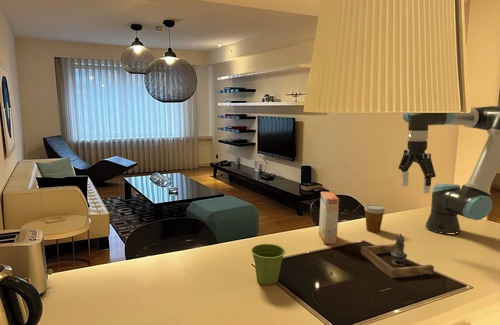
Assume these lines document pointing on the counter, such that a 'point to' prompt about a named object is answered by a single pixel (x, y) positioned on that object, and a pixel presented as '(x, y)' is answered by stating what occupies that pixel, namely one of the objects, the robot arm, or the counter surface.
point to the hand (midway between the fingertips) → (415, 189)
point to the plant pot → (267, 262)
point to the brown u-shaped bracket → (386, 268)
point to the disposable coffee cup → (374, 217)
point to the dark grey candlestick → (399, 252)
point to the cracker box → (328, 217)
